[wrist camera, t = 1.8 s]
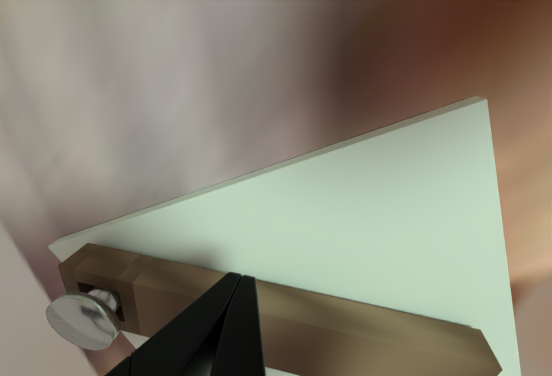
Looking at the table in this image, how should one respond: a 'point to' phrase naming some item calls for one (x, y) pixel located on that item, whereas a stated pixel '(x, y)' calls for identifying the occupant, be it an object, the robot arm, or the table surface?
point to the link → (288, 320)
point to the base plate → (338, 231)
